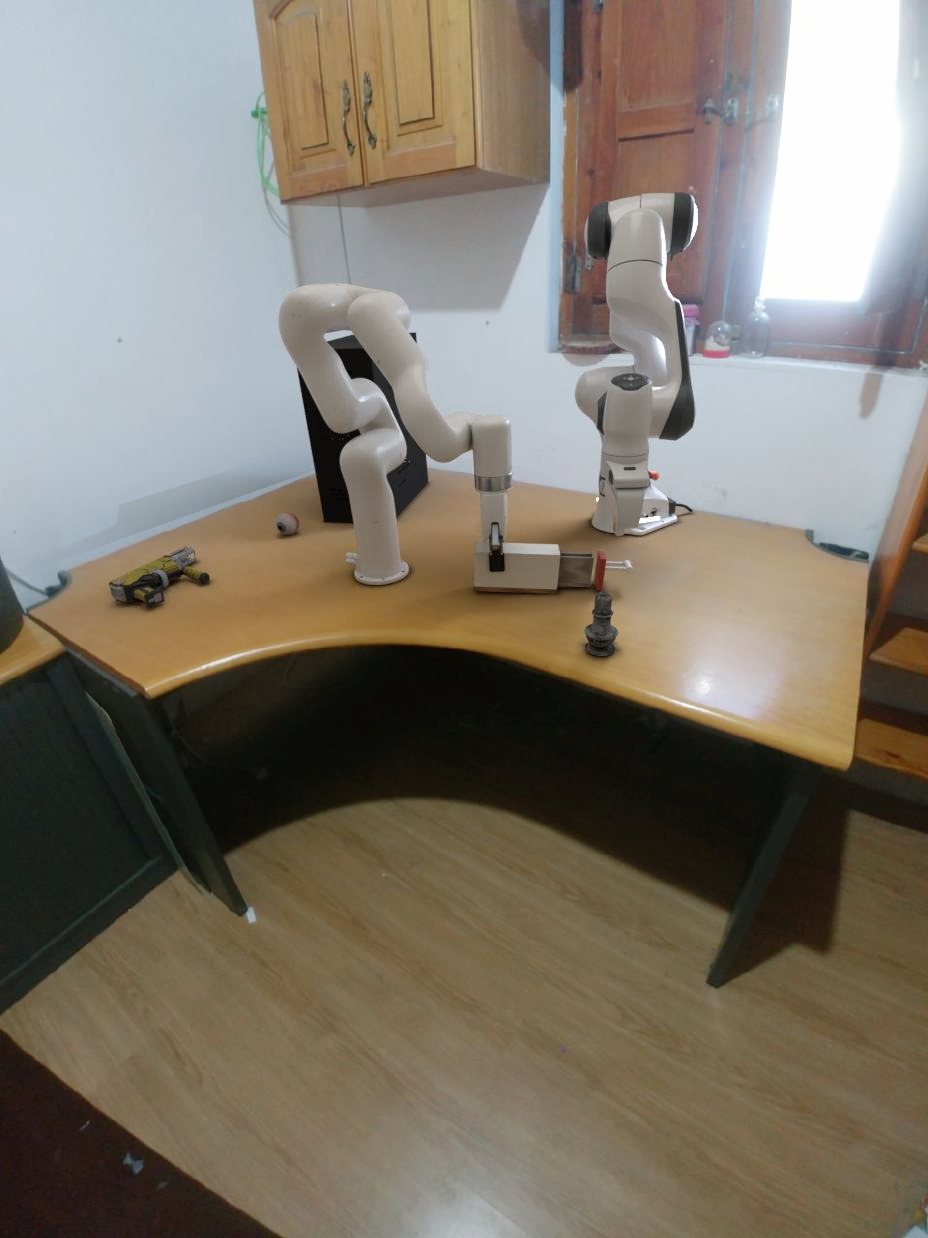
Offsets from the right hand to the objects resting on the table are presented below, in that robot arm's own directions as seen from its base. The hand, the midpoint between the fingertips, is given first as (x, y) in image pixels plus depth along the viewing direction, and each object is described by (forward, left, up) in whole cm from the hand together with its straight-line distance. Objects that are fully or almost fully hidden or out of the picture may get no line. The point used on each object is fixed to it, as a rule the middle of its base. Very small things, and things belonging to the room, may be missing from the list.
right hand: (618, 532), depth 123 cm
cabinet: (+19, -10, -12) cm, 24 cm away
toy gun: (+86, -51, -12) cm, 101 cm away
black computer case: (+26, -82, -12) cm, 87 cm away
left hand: (+22, -12, -6) cm, 26 cm away
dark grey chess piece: (+17, +19, -12) cm, 28 cm away
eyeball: (+56, -69, -12) cm, 90 cm away
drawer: (+7, -4, -12) cm, 14 cm away
